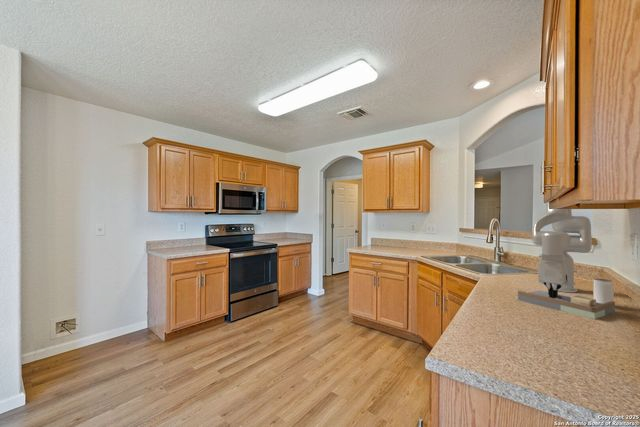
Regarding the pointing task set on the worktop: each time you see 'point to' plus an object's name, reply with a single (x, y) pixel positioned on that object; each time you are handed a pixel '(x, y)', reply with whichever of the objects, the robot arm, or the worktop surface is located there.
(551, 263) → the robot arm
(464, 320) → the worktop surface
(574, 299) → the block
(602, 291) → the can
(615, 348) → the worktop surface
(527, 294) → the trap deck
